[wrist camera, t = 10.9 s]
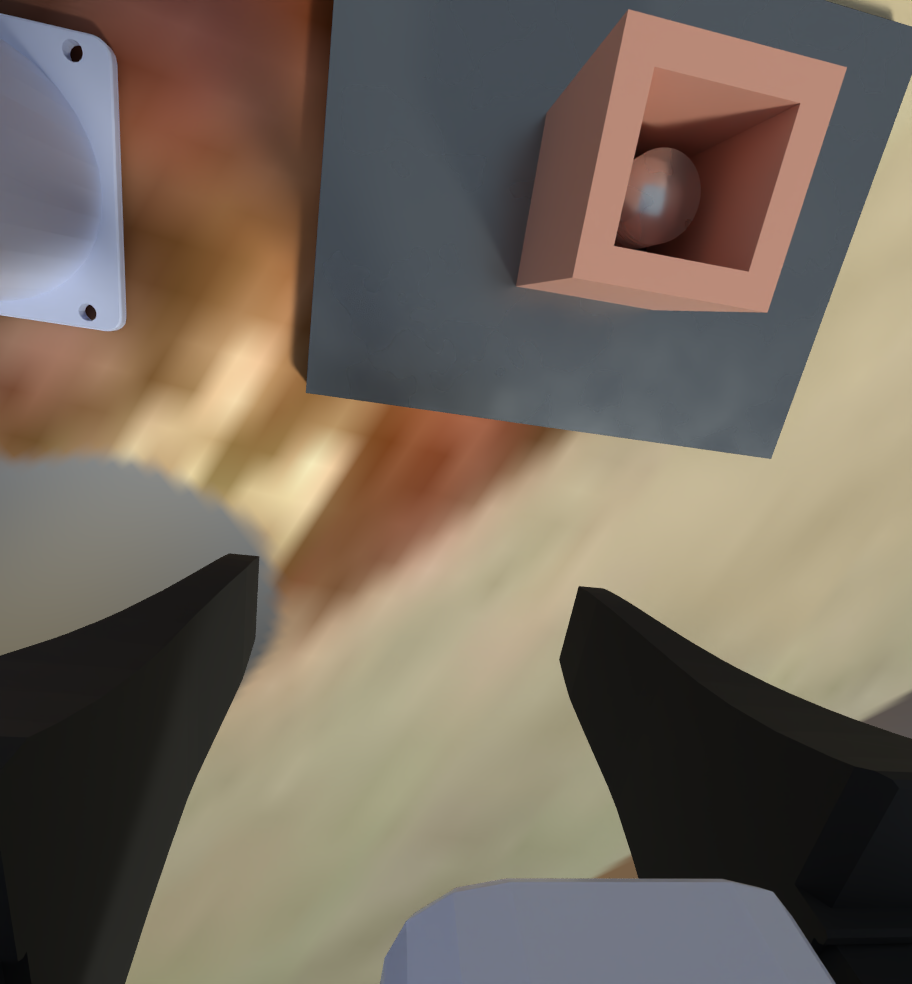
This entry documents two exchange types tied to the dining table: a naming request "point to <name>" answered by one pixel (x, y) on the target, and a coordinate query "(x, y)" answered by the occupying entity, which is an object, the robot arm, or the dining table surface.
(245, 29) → the dining table surface
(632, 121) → the collar
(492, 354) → the stand
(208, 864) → the dining table surface
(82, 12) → the dining table surface
